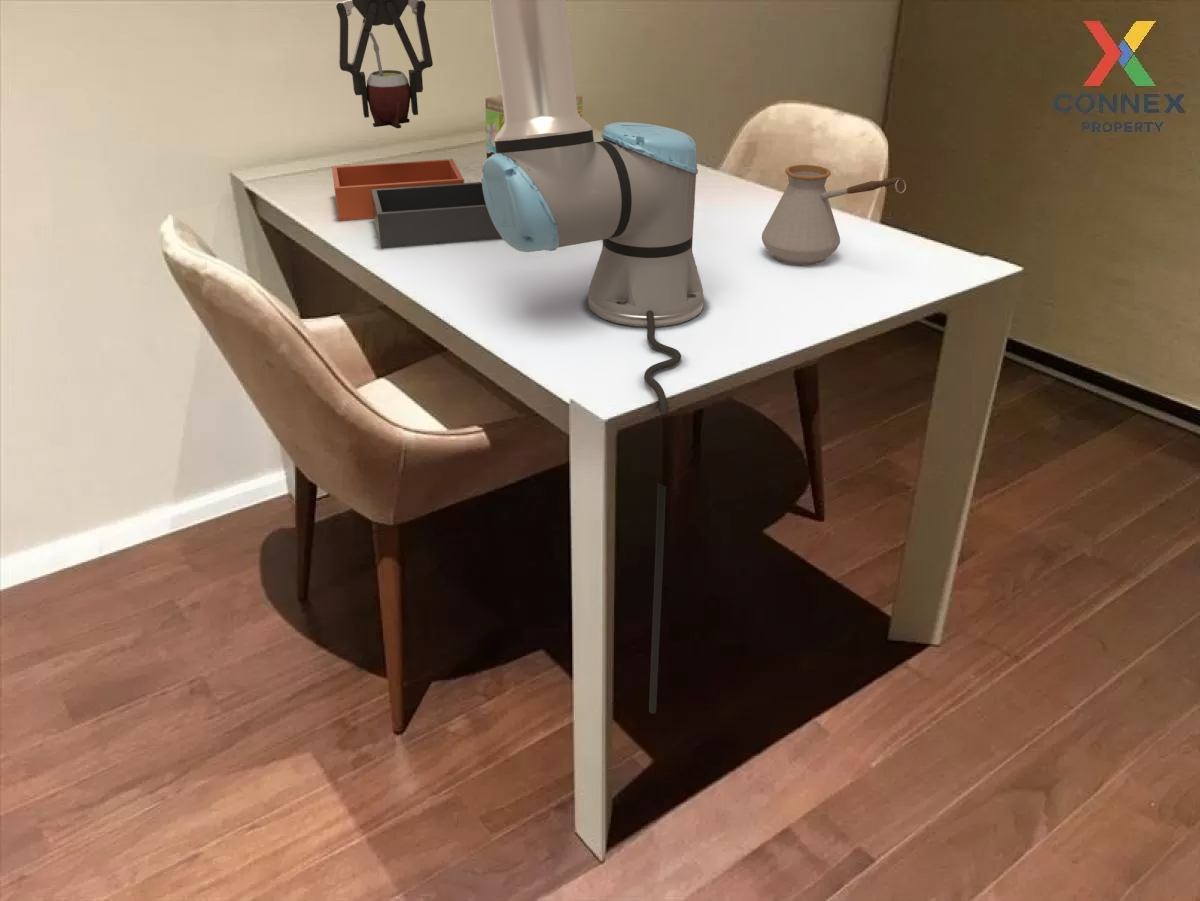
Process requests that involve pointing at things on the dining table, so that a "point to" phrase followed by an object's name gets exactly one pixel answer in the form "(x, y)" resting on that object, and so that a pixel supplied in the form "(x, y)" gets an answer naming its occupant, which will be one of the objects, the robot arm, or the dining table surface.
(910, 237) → the dining table surface
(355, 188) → the terracotta tote
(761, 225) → the dining table surface
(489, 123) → the tea box
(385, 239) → the charcoal tote
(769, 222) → the coffee pot
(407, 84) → the mate gourd
